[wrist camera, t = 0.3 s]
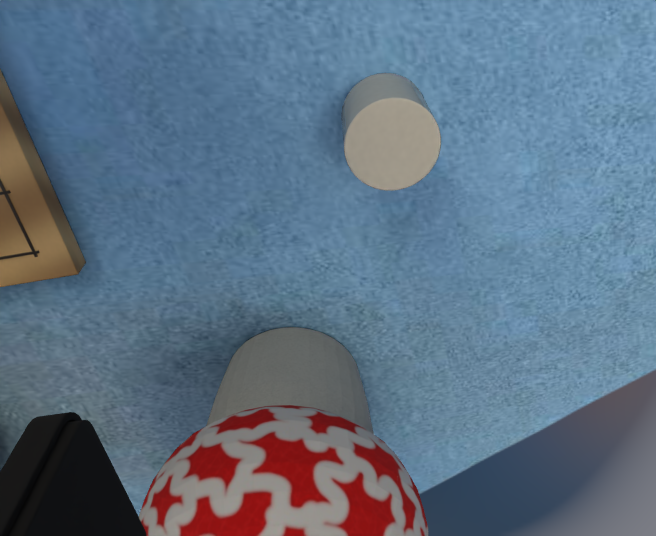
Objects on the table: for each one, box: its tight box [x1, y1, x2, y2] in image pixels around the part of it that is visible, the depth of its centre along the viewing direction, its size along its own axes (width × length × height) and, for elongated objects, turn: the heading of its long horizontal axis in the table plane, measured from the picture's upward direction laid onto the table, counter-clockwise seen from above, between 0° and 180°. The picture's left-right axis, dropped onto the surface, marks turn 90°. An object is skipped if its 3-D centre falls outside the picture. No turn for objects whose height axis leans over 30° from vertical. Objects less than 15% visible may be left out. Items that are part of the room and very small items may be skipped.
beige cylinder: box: [341, 73, 441, 190], centre depth 33 cm, size 5×5×5 cm
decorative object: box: [139, 327, 428, 536], centre depth 36 cm, size 16×16×20 cm
